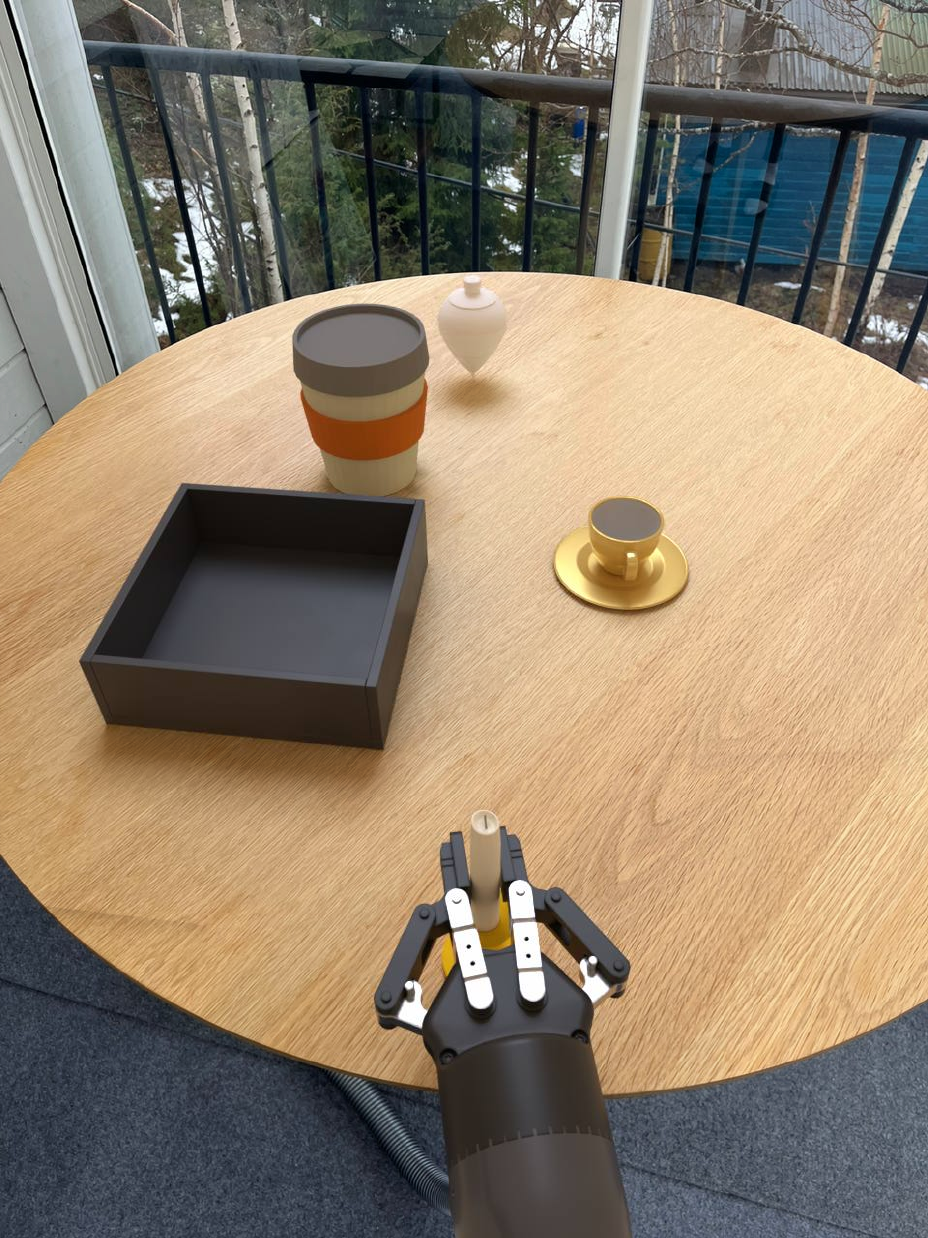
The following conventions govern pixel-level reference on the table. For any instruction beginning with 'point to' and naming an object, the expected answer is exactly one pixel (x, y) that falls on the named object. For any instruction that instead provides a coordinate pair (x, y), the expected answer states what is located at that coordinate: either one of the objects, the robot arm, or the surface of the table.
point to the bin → (265, 616)
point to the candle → (484, 888)
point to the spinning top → (472, 324)
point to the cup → (621, 556)
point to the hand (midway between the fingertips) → (476, 837)
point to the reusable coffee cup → (364, 393)
